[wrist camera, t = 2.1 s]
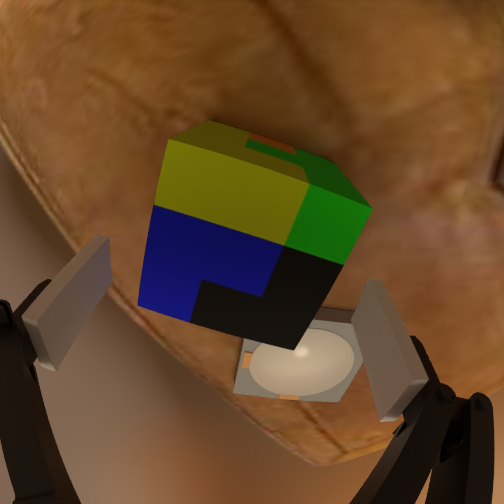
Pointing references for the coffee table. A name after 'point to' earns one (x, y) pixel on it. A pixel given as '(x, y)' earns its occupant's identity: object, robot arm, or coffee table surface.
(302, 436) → the coffee table surface
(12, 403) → the robot arm
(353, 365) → the plinth
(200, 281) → the puzzle toy
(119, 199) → the coffee table surface
